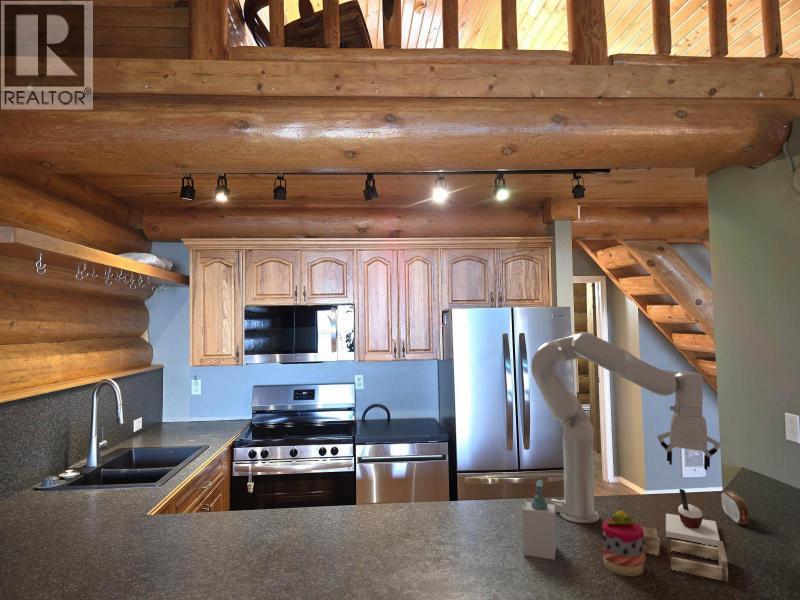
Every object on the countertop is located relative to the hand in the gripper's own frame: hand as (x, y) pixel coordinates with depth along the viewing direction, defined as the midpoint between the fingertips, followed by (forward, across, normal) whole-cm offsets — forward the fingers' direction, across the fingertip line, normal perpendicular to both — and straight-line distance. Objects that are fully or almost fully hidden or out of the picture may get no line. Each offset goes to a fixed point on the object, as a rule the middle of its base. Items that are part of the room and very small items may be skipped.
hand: (687, 466), depth 159 cm
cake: (+21, -16, -34) cm, 43 cm away
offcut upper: (+19, -10, -18) cm, 28 cm away
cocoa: (+19, +1, 0) cm, 19 cm away
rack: (+20, +2, -23) cm, 31 cm away
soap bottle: (+22, -38, -35) cm, 56 cm away
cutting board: (+20, +1, 0) cm, 20 cm away
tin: (+20, +14, +19) cm, 31 cm away
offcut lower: (+21, -10, -18) cm, 30 cm away
